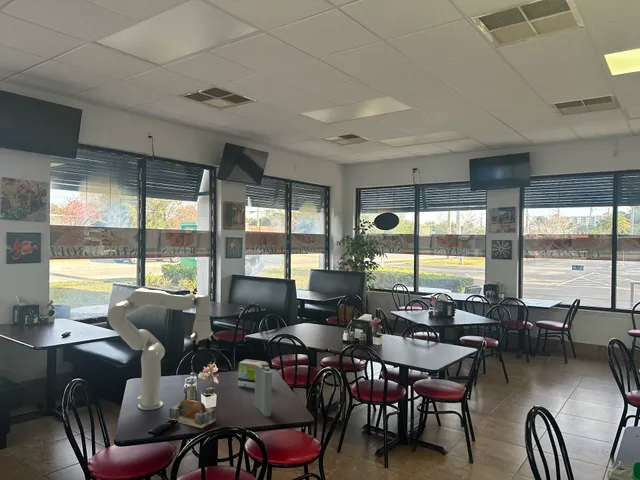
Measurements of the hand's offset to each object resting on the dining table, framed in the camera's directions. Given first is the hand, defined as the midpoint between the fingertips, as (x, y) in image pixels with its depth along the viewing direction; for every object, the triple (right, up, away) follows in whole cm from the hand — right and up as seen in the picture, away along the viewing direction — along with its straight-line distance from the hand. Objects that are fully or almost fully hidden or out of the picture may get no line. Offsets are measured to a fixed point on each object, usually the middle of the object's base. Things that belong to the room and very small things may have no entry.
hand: (201, 349), depth 254 cm
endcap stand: (0, -30, -20) cm, 36 cm away
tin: (0, -29, -20) cm, 35 cm away
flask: (+34, -31, -4) cm, 46 cm away
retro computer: (+22, -31, +37) cm, 53 cm away
